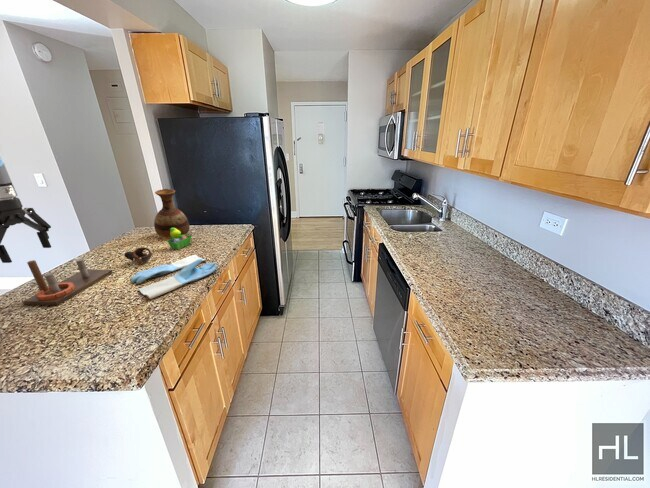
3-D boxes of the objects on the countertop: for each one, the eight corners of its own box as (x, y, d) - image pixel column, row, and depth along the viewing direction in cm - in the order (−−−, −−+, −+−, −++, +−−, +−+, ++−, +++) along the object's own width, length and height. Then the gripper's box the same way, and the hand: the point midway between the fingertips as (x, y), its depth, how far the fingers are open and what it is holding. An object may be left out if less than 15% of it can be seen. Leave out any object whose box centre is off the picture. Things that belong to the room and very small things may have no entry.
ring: (27, 299, 99) (11, 267, 94) (56, 284, 109) (43, 255, 104) (55, 300, 98) (41, 268, 93) (81, 285, 108) (70, 256, 103)
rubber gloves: (124, 279, 116) (120, 266, 114) (195, 255, 140) (193, 244, 138) (150, 300, 101) (145, 286, 98) (224, 269, 125) (222, 257, 122)
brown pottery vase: (156, 242, 158) (144, 193, 147) (157, 232, 174) (145, 188, 163) (192, 236, 167) (182, 190, 156) (189, 228, 183) (180, 185, 172)
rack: (24, 304, 98) (13, 282, 95) (86, 272, 122) (78, 253, 119) (57, 305, 98) (47, 283, 94) (112, 272, 122) (106, 254, 118)
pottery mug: (153, 256, 140) (153, 245, 135) (151, 269, 134) (151, 259, 129) (126, 254, 134) (125, 244, 129) (122, 269, 129) (121, 258, 123)
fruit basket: (177, 250, 146) (173, 231, 142) (166, 248, 149) (161, 230, 145) (193, 243, 156) (190, 226, 152) (183, 241, 159) (179, 224, 155)
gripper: (-36, 207, 78) (-3, 270, 86) (49, 191, 101) (69, 242, 109) (-59, 207, 78) (-24, 269, 86) (31, 191, 101) (52, 242, 109)
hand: (28, 254), depth 98 cm, fingers open, 13 cm apart
